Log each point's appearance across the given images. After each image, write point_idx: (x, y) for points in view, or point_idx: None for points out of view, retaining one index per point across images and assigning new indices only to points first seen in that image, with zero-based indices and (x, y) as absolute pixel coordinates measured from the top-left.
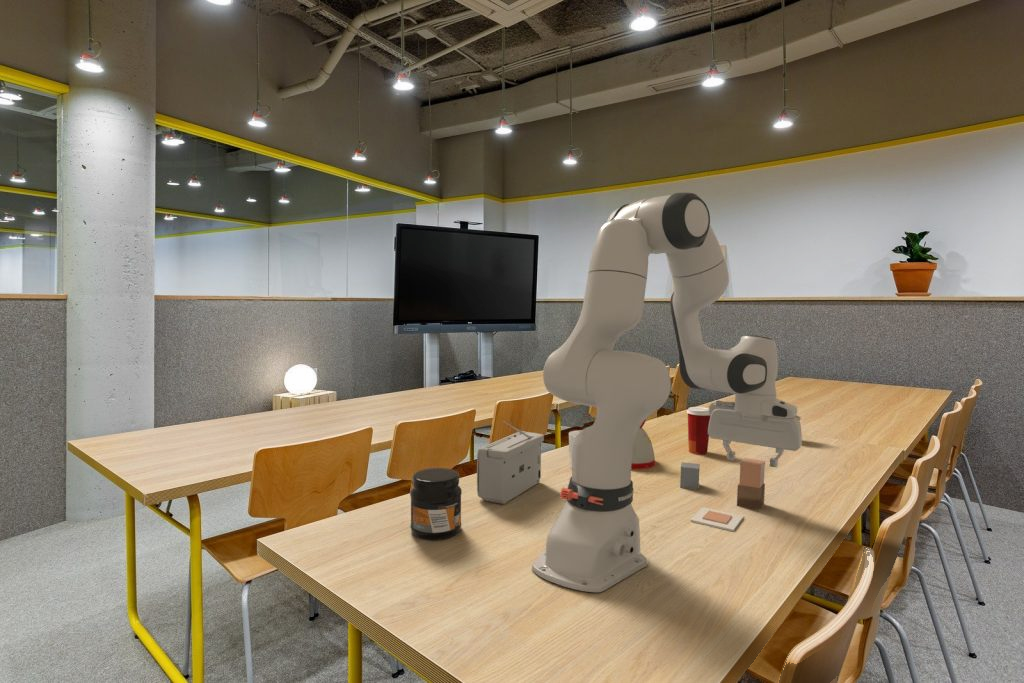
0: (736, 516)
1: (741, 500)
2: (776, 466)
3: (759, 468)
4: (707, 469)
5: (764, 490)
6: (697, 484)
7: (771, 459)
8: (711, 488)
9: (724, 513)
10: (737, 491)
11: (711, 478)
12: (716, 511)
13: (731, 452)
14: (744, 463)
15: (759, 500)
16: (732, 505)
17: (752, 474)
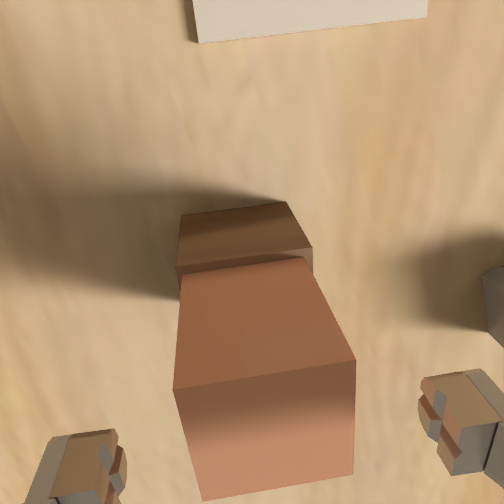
0: (226, 4)
1: (270, 216)
2: (52, 444)
3: (185, 367)
4: (478, 475)
5: None
6: (501, 285)
7: (79, 493)
8: (433, 323)
9: (296, 4)
10: (302, 231)
11: None
12: (343, 5)
13: (483, 436)
14: (318, 361)
15: (180, 235)
16: (303, 191)
17: (235, 317)
